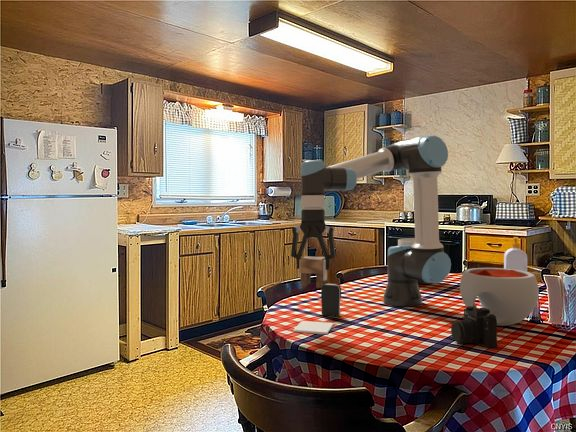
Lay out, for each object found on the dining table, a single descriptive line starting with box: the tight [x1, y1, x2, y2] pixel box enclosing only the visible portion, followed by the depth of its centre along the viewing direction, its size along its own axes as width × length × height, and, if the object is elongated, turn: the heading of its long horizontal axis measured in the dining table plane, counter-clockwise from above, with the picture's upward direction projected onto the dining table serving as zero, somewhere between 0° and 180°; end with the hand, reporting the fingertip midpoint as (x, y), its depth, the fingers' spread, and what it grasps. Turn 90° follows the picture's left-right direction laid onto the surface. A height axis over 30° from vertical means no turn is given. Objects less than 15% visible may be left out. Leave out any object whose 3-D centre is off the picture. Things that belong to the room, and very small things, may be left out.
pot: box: [459, 267, 540, 327], centre depth 154 cm, size 24×24×18 cm
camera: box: [450, 305, 498, 350], centre depth 134 cm, size 14×11×10 cm
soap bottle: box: [503, 236, 528, 272], centre depth 216 cm, size 9×7×23 cm
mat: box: [292, 320, 335, 335], centre depth 150 cm, size 11×11×1 cm
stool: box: [299, 255, 326, 289], centre depth 149 cm, size 7×7×9 cm
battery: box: [320, 282, 342, 317], centre depth 166 cm, size 7×4×11 cm, turn 65°
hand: (313, 279), depth 149 cm, fingers closed on stool, 7 cm apart
